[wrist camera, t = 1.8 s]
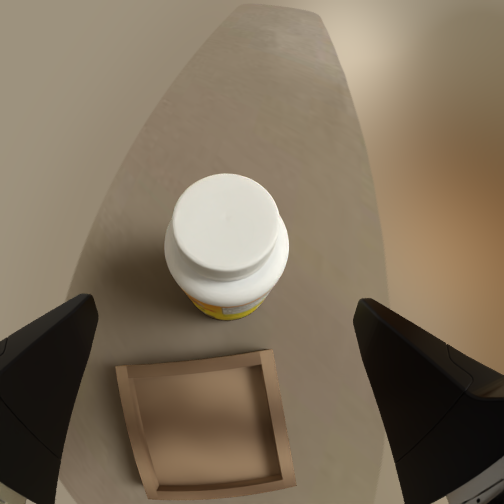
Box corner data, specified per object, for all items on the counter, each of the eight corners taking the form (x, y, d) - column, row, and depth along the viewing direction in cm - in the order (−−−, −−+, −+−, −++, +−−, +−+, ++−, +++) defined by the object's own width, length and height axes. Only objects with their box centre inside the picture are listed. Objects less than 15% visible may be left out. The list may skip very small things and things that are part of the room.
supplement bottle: (179, 257, 20) (139, 176, 10) (251, 236, 21) (270, 143, 11) (201, 332, 18) (169, 315, 9) (278, 307, 19) (326, 265, 10)
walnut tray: (290, 474, 15) (296, 485, 13) (154, 487, 14) (148, 499, 12) (268, 349, 18) (272, 349, 16) (125, 365, 17) (115, 366, 15)
